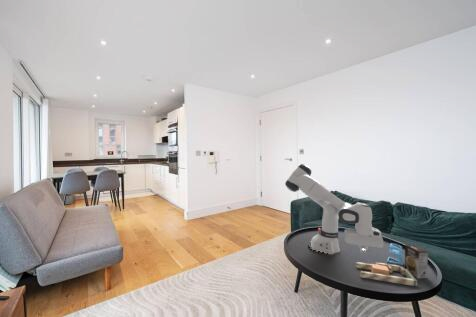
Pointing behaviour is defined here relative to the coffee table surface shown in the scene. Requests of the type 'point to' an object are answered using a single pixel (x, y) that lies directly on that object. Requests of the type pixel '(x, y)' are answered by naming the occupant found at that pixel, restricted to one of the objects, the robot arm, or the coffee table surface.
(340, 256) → the coffee table surface
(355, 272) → the coffee table surface
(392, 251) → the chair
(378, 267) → the terracotta block
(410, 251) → the coffee box
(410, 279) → the birch trap lane
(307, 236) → the coffee table surface
